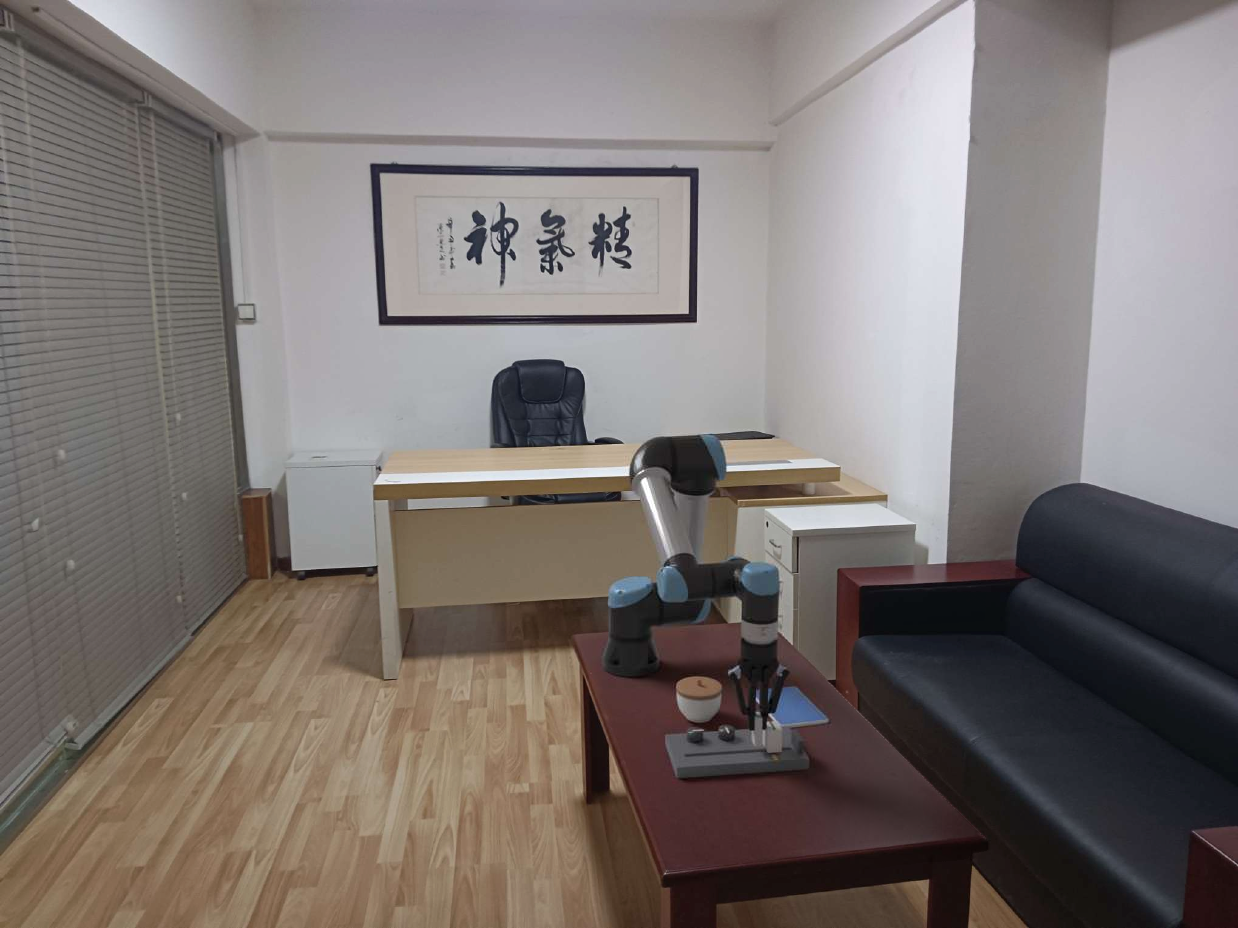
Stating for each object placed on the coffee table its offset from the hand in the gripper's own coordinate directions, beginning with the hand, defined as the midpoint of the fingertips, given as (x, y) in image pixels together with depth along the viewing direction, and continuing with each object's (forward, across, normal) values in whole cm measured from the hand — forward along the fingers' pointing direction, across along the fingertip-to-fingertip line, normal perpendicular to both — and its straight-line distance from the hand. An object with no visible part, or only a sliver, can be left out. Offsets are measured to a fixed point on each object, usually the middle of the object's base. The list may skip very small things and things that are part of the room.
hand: (756, 743), depth 189 cm
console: (+4, -4, +2) cm, 6 cm away
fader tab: (+1, +3, 0) cm, 4 cm away
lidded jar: (+4, -8, +22) cm, 23 cm away
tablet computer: (+5, +14, +24) cm, 28 cm away
